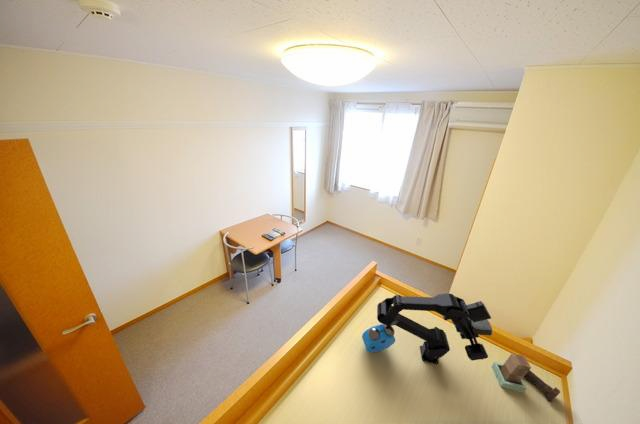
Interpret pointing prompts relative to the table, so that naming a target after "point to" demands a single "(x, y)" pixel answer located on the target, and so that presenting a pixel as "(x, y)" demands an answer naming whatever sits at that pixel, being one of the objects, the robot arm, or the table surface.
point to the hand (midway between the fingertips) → (477, 347)
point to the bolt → (543, 386)
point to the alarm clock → (378, 338)
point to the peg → (515, 368)
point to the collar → (503, 383)
